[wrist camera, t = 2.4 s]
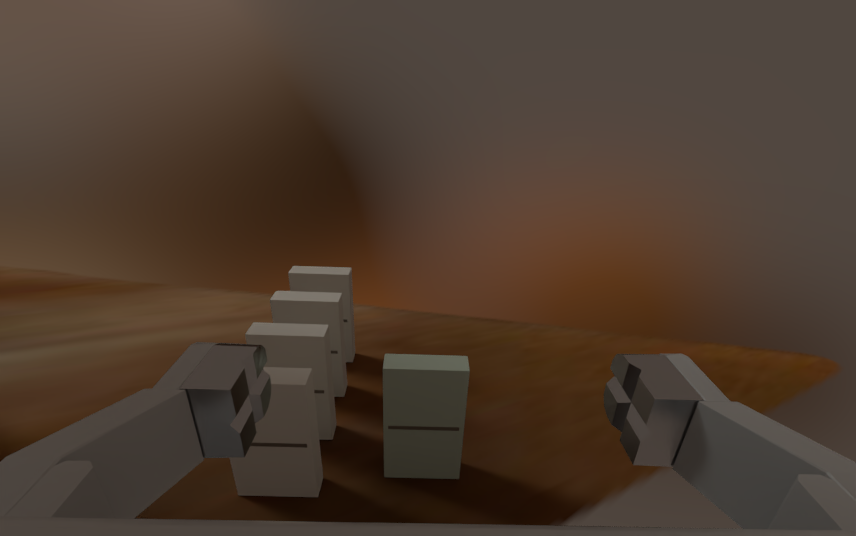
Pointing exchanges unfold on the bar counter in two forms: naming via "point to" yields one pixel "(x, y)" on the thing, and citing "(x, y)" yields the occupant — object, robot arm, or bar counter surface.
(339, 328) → the domino
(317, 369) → the domino
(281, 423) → the domino
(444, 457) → the domino
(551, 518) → the bar counter surface
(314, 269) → the end domino
